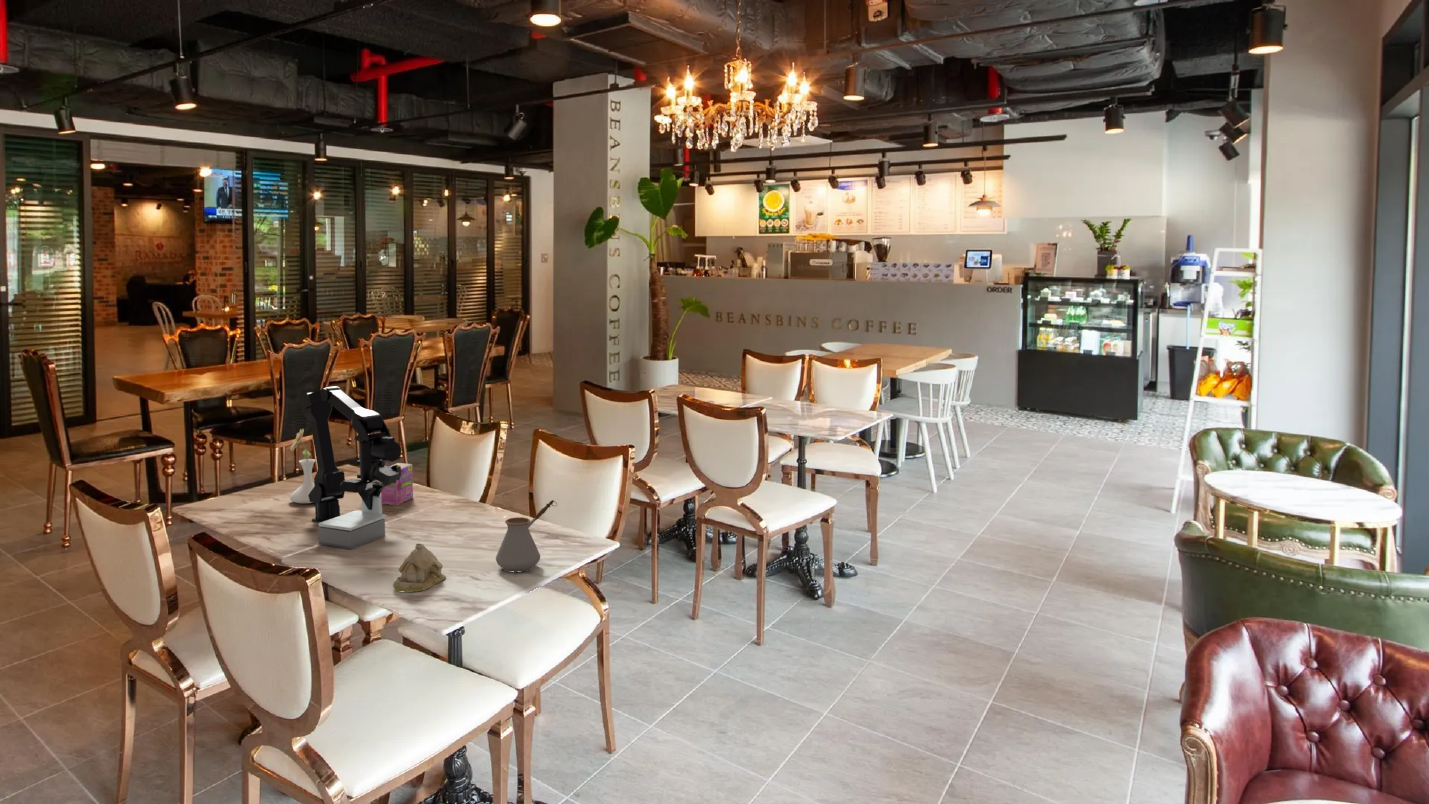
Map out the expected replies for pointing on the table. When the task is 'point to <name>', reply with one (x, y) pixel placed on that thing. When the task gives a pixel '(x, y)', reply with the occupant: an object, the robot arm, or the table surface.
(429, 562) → the ceramic model
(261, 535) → the table surface
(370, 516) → the lid
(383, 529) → the tub
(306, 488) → the flower in vase
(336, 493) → the robot arm
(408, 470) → the box
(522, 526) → the coffee pot
